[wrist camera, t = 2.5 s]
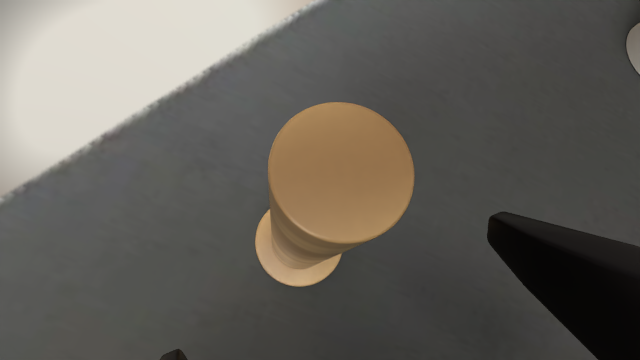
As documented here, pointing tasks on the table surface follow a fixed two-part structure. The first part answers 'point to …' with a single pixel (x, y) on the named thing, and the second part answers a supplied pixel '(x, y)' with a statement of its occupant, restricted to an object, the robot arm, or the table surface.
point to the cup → (634, 46)
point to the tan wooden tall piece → (331, 189)
